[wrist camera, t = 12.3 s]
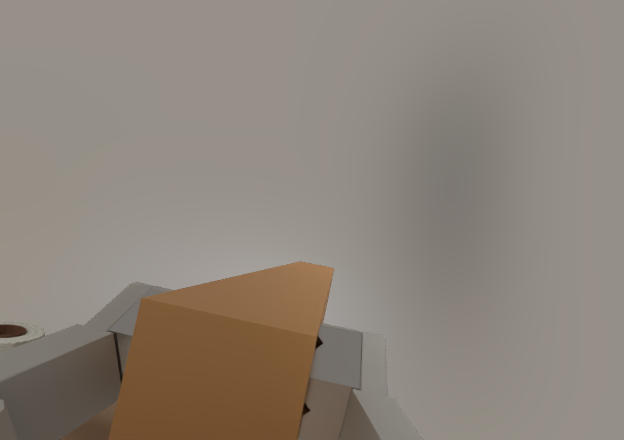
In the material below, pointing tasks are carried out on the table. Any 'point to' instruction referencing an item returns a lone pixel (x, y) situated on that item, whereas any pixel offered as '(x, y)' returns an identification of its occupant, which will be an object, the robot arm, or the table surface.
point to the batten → (224, 358)
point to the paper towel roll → (18, 334)
